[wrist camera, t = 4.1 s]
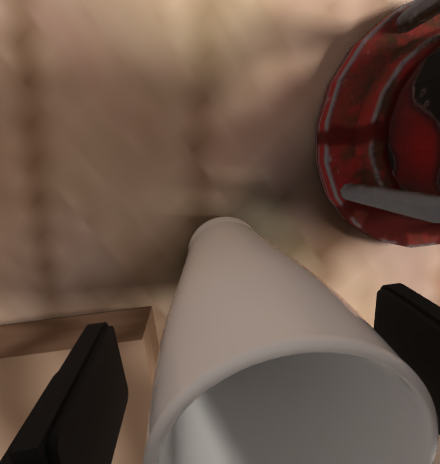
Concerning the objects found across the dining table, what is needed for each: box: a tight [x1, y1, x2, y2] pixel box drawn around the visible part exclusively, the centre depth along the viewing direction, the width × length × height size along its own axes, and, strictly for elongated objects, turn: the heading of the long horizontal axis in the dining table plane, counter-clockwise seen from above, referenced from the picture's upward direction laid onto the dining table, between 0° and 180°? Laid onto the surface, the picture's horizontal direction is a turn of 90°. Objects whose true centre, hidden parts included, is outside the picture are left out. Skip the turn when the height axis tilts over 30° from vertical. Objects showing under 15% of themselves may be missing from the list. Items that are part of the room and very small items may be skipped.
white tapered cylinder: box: [142, 217, 439, 464], centre depth 13 cm, size 7×7×15 cm
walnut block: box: [0, 307, 159, 464], centre depth 20 cm, size 16×16×4 cm
